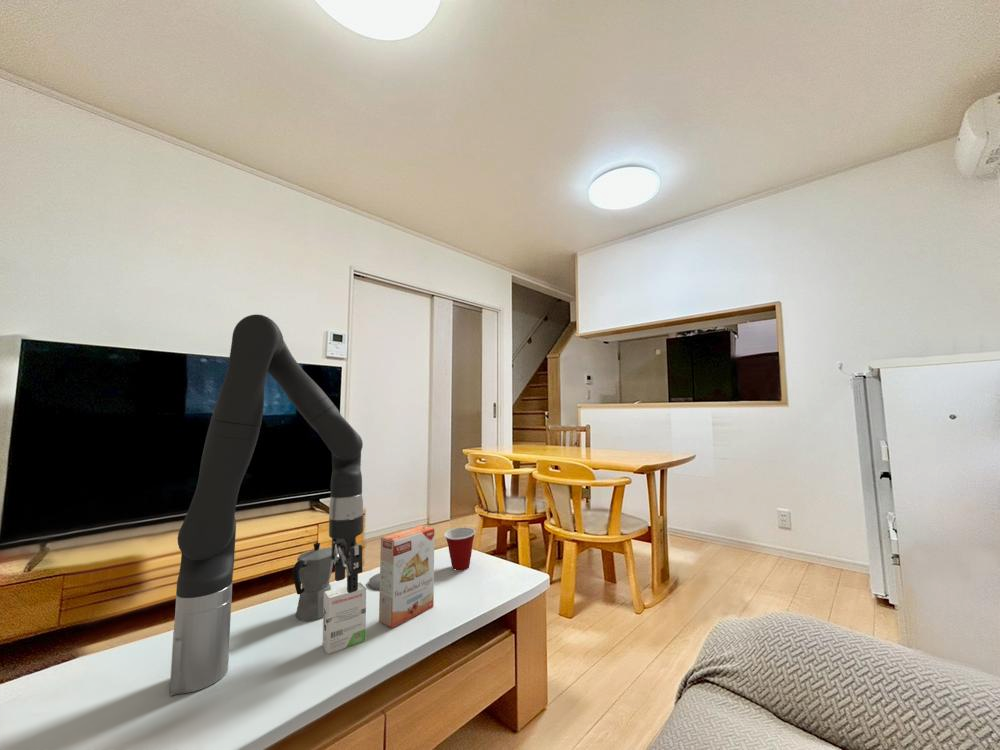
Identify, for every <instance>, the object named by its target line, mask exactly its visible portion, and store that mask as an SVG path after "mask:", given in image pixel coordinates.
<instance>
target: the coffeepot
mask: <svg viewBox="0 0 1000 750" xmlns="http://www.w3.org/2000/svg"><path fill="white" fill-rule="evenodd" d="M320 546H321V542H314V543H313V549H312V550H307V551H305V552H302V553H300V555H298V556H297V558H296V559H297V561H296V562H295V564H294V566H293V569H292V571H291V574H292V578H293V583H294V586H295V591H296V594H297V595H299V598H298V603H297V608H296V613H295V618H296V619H297V620H298V621H301V622H313V621H318V620H322V619H323V604H324V592H325V591H329V590H332V587H331V584H330V579H331V577H332V571H333V567H334V562H333V561H334V560H332V558H331V553H332V547H325V548H320Z"/></svg>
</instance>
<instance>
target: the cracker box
mask: <svg viewBox="0 0 1000 750" xmlns="http://www.w3.org/2000/svg"><path fill="white" fill-rule="evenodd" d="M379 558H380V562H379V563H380V564H379V573H380V590H379V602H378V603H379V607H378V610H379V611H378V612H379V613H378V623H382V624H383V625H385V626H386V627H389V628H391V629H393V628H396V627H397V626H399V625H401V624H403V623H404V622H406V621H408V620H411V619H413V618H414V617H416V616H418V615H420V614H422V613H423V612H425V611H427V610H429V609H431V608H433V607H434V603H435V601H434V595H435V594H434V591H435V588H434V585H435V584H434V582H435V576H434V575H435V528H434V527H430V526H425V525H418V526H415V527H411V528H409V529H404V530H401V531H398V532H394V533H391V534H388V535H385V536H381V538H380V557H379Z"/></svg>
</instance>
